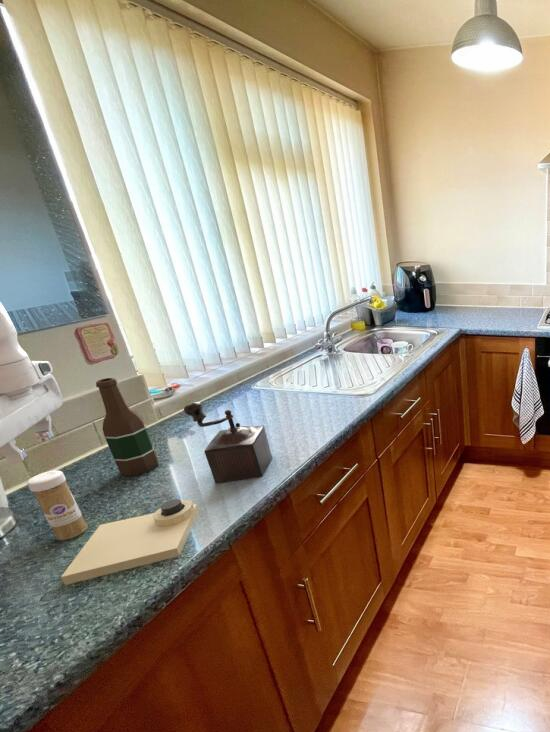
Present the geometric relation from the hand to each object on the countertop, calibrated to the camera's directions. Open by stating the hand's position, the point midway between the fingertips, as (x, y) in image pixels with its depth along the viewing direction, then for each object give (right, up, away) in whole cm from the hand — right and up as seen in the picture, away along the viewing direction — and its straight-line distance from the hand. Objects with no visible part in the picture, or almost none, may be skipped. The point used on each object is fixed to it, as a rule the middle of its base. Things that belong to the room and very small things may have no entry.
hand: (33, 449), depth 73 cm
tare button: (+19, -14, +8) cm, 25 cm away
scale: (+16, -19, +4) cm, 25 cm away
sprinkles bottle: (0, -18, +7) cm, 19 cm away
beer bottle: (-7, -10, +29) cm, 31 cm away
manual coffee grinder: (+18, -10, +27) cm, 34 cm away
